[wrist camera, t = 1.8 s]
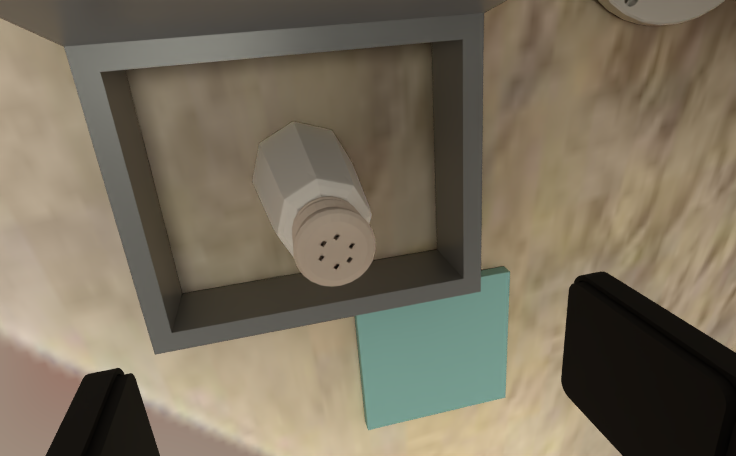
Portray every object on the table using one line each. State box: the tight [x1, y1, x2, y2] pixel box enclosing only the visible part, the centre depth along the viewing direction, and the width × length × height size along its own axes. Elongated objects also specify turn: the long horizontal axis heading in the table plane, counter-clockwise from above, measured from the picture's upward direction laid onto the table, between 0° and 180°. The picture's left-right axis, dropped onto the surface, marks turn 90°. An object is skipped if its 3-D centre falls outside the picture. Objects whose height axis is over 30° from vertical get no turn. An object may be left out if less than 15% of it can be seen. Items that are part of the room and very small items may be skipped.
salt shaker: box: [252, 121, 376, 287], centre depth 21 cm, size 5×5×11 cm
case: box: [64, 13, 484, 354], centre depth 24 cm, size 17×14×4 cm
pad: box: [355, 266, 510, 430], centre depth 32 cm, size 10×10×1 cm
